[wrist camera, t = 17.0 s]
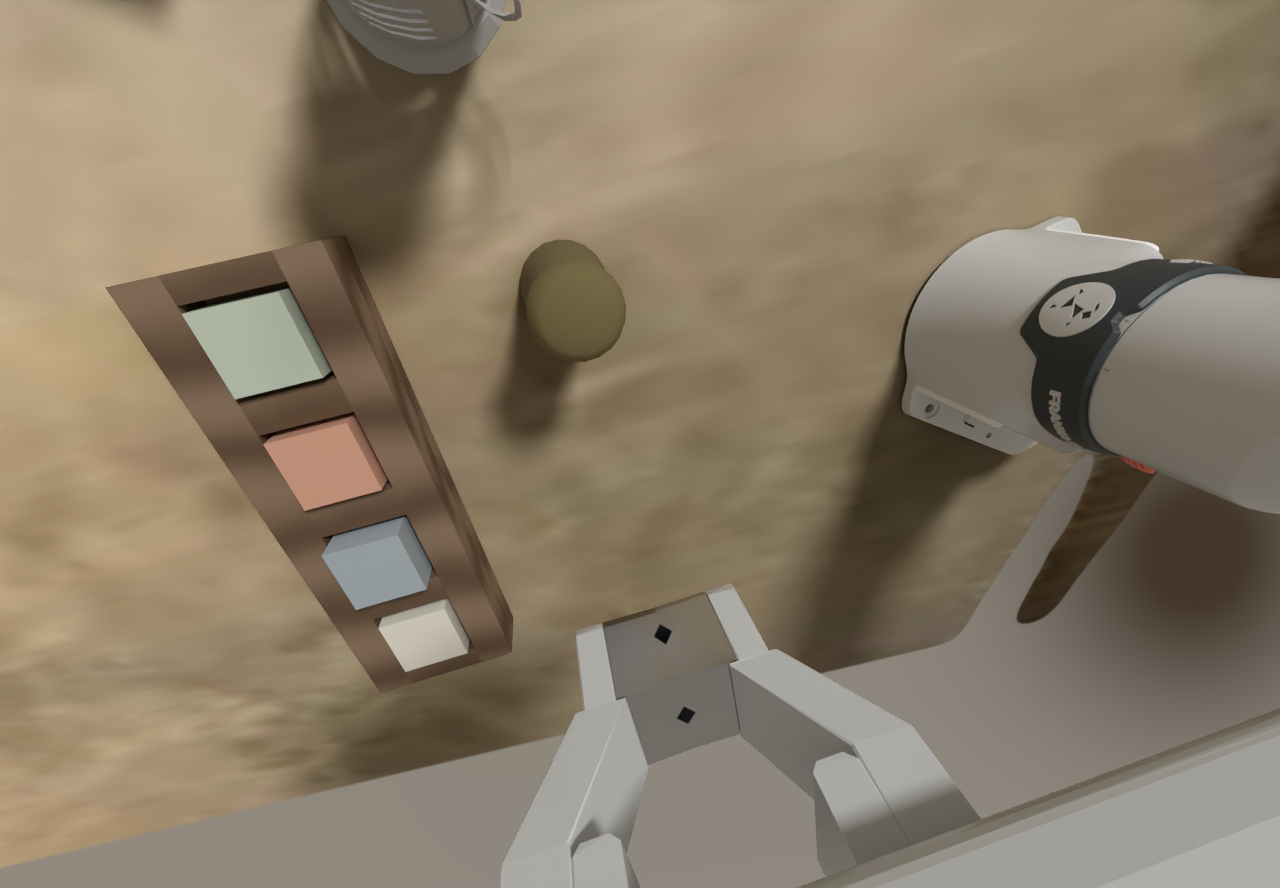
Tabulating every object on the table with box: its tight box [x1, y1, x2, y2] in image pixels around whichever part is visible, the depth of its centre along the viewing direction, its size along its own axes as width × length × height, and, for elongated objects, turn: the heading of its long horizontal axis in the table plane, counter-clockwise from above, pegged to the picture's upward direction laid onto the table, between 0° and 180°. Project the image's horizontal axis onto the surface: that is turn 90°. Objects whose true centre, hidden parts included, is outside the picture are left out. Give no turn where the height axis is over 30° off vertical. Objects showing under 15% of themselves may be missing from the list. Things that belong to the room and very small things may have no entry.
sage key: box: [182, 287, 332, 399], centre depth 29 cm, size 5×5×2 cm
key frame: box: [106, 236, 513, 692], centre depth 36 cm, size 33×11×4 cm, turn 11°
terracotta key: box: [263, 412, 388, 511], centre depth 33 cm, size 5×5×2 cm
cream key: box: [378, 598, 470, 672], centre depth 40 cm, size 5×5×2 cm
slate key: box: [322, 515, 432, 610], centre depth 35 cm, size 5×5×2 cm
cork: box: [520, 240, 626, 362], centre depth 29 cm, size 6×6×11 cm
